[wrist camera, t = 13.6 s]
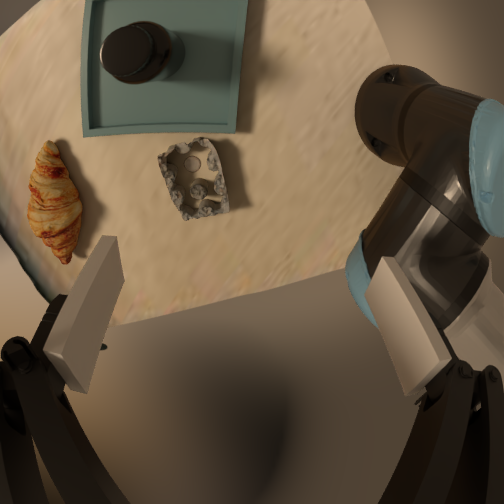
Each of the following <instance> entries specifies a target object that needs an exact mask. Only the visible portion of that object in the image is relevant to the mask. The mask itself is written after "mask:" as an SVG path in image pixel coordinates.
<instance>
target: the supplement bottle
mask: <svg viewBox="0 0 504 504" xmlns="http://www.w3.org/2000/svg"><path fill="white" fill-rule="evenodd" d="M99 55H100V61H101V64H102V67H103V68H104V69H105V71H108V73H109V74H111V75H112V76H113V77H114V78H115V79H117V80H118V81H120V82H122V83H125V84H131V85H137V84H144V83H149V82H155V81H160V80H164V79H166V78H169V77H170V76H172V75H173V74H175V73H176V72H177V71H178V70H179V69H180V67H181V66H182V64H183V62H184V59H185V46H184V43H183V41H182V39H181V38H180V37H179V36H178V35H177V34H175V33H174V32H172V31H170V30H169V29H167V28H165V27H163V26H162V25H160V24H158V23H155V22H151V21H137V22H133V23H130V24H128V25H126V26H124V27H120V28H119V29H116V30H115V31H113V32H111V34H109V35H108V36H107V38H106V39H105V40H104V42H103V43H102V47H101V48H100V54H99Z"/></svg>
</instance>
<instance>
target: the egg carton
mask: <svg viewBox="0 0 504 504" xmlns="http://www.w3.org/2000/svg"><path fill="white" fill-rule="evenodd" d="M196 141H198V143H200V144H201V146H203V147H207V148H209V149H211V151H210V152H209V154H208V158H207V165H208V167H209V170H212V171H217V170H218V171H219V173H218V174H217V175H216V177H215V183H214V190H215V192H216V193H217V194H221V195H222V196H223V197H222V200H221V203H217V204H216V203H214V202H213V201H211V200H209V199H204V198H205V197H206V196H207V192H208V183H207V181H206V180H204V179H202V178H197V179H195V180H194V181H193V183H192V186H191V189H190V193H191V196H192V197H193V198H195V199H204V200H202V201H201V202H200V204H199V209H196V210H193V209H192V208H191V207H190V206H188V205H183V204H182V203H183V201H184V197H185V189H184V188H183V187H182V186H181V185H176V183H175V182H174V181H175V178H176V176H177V172H178V170H177V168H176V166H175V165H173V164H170V163H167V161H166V160H167V155H168V154H169V153H171V152H172V151H173V150H174V148H175V150H176V151H177V152H178V153H184V154H185V153H187V152H189V151H190V150H191V148H192V146H193V142H196ZM158 162H159V167H160V169H161V173H162V175H163V177H164V178H165V181H166V185H167V188H168V190H169V193H170V195H171V199H172V201H173V202H174V204H175V206H176V207H177V208H178V210H179V211H180V213H181V214H182V218H183V219H184V220H185V221H187V220H189V219H191V218H196V219H198V218H200V217H207V216H213V215H216V214H218V213H227V212H229V200H228V194H227V189H226V186H225V181H224V177H223V172H222V168H221V163H220V160H219V157H218V154H217V151H216V149H215V148H214V146H213V143H212V142H210V141H209V140H208V139H202V138H201V137H198V138H194V139H193V141H192V142H191V143H189V144H188V145H187V144H186V143H185V142H184V143H180V144H175V145H172V146H170V147H169V149H168V150H167V152H165V153H163V154H160V155H158ZM200 164H201V163H200V160H199V159H198V158H197V157H195V156H190V157H188V158H187V159H186V160H185V162H184V166H185V168H186V169H187V170H188V171H190V172H195V171H197V170H198V169H199V168H200Z"/></svg>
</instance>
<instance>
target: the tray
mask: <svg viewBox="0 0 504 504" xmlns="http://www.w3.org/2000/svg"><path fill="white" fill-rule="evenodd" d="M247 6H248V0H86V1H85V9H84V18H83V28H82V43H81V112H82V128H83V138H85V137H94V136H105V135H118V134H134V133H159V132H209V133H235V130H236V117H237V106H238V94H239V83H240V72H241V62H242V52H243V42H244V33H245V23H246V14H247ZM137 21H151V22H155V23H158V24H160V25H162V26H163V27H165V28H167V29H169V30H170V31H172V32H174V33H175V34H177V35H178V36H179V37H180V38H181V39H182V41H183V43H184V46H185V59H184V62H183V64H182V66H181V67H180V69H179V70H178V71H177V72H176V73H175V74H173V75H172V76H170V77H169V78H166V79H164V80H160V81H155V82H149V83H144V84H137V85H131V84H125V83H122V82H120V81H118V80H117V79H115V78H114V77H113V76H112V75H111V74H109V73H108V71H105V69H104V68H103V67H102V64H101V61H100V55H99V54H100V48H101V47H102V43H103V42H104V40H105V39H106V38H107V36H108V35H109V34H111V32H113V31H115V30H116V29H119V28H120V27H124V26H126V25H128V24H130V23H133V22H137Z"/></svg>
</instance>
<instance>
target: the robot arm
mask: <svg viewBox="0 0 504 504" xmlns="http://www.w3.org/2000/svg"><path fill="white" fill-rule="evenodd" d="M355 121H356V126H357V130H358V132H359V135H360V137H361V139H362V141H363V142H364V144H365V145H366V146H367V148H368V149H369V150H370V151H371V152H372V153H374V154H375V155H376V156H378V157H379V158H380V159H382V160H383V161H385V162H387V163H390V164H392V165H395V166H401V167H405V168H404V170H403V172H402V173H401V175H400V176H399V178H398V179H397V181H396V183H395V184H394V186H393V188H392V189H391V191H390V193H389V194H388V196H387V197H386V199H385V201H384V202H383V204H382V205H381V207H380V209H379V210H378V212H377V213H376V215H375V216H374V218H373V219H372V221H371V222H370V224H369V225H368V227H367V228H366V229H364V230H362V232H361V233H360V236H359V240H358V241H357V243H356V245H355V246H354V248H353V250H352V251H351V253H350V254H349V256H348V258H347V261H346V267H345V273H346V278H347V281H348V287H349V289H350V292H351V294H352V296H353V298H354V300H355V302H356V303H357V305H358V306H359V308H360V309H361V311H362V312H363V313H364V315H365V316H366V317H367V318H368V319H369V320H370V321H371V322H372V323H373V324H374V325H375V326H376V327H377V328H378V329H379V330H380V332H381V335H382V337H383V340H384V342H385V344H386V347H387V349H388V352H389V354H390V357H391V360H392V362H393V365H394V367H395V369H396V372H397V375H398V378H399V381H400V383H401V386H402V389H403V391H404V394H405V396H409V395H413V394H417V393H419V392H420V391H421V389H423V388H424V387H426V390H427V392H426V393H424V394H423V395H422V396H421V397H420V398H419V399H418V400H417V401H416V402H415V405H417V404H418V403H419V402H420V401H421V400H422V401H421V404H420V405H419V410H418V413H417V417H416V419H415V422H414V425H413V428H412V431H411V433H410V436H409V438H408V441H407V443H406V446H405V448H404V451H403V453H402V455H401V458H400V460H399V462H398V465H397V467H396V469H395V471H394V473H393V475H392V477H391V479H390V481H389V483H388V485H387V487H386V489H385V491H384V493H383V495H382V497H381V499H380V501H379V502H378V504H504V294H503V293H502V292H501V291H500V290H499V289H498V287H497V286H496V285H495V284H494V283H493V281H492V269H491V268H492V267H491V260H490V259H489V258H488V257H487V256H486V255H485V254H484V253H483V252H482V251H481V248H482V246H483V245H484V243H485V242H486V240H487V239H488V238H489V236H490V235H492V236H497V237H501V238H502V237H504V106H503V105H501V104H500V103H499V102H498V101H496V100H493V99H486V98H483V97H481V96H477V95H474V94H471V93H468V92H465V91H461V90H457V89H454V88H450V87H446V86H442V85H440V84H439V83H438V82H437V81H435V80H434V79H433V78H432V77H430V76H429V75H427V74H426V73H424V72H423V71H421V70H419V69H417V68H414V67H411V66H406V65H387V66H384V67H381V68H379V69H377V70H376V71H374V72H373V73H371V74H370V75H369V76H368V77H367V78H366V80H365V81H364V82H363V84H362V86H361V88H360V90H359V92H358V95H357V98H356V103H355ZM123 283H124V276H123V270H122V265H121V259H120V253H119V247H118V241H117V236H106V235H102V237H101V238H100V240H99V242H98V243H97V245H96V247H95V248H94V250H93V252H92V253H91V255H90V257H89V258H88V260H87V262H86V264H85V265H84V267H83V269H82V271H81V272H80V274H79V276H78V278H77V280H76V281H75V283H74V285H73V287H72V289H71V291H70V293H69V295H62V294H59V295H58V296H57V297H56V298H55V299H53V300H52V301H51V303H50V305H49V307H48V308H47V310H46V314H45V315H44V316H43V318H42V321H41V322H40V324H39V327H38V328H37V330H36V333H35V335H34V337H33V339H32V341H31V343H30V344H29V342H28V340H26V339H25V338H24V337H19V336H16V337H13V338H11V339H9V340H8V341H7V342H6V343H5V344H4V345H3V347H2V350H1V359H2V360H3V361H0V504H49V502H48V499H47V496H46V493H45V490H44V486H43V483H42V479H41V476H40V472H39V468H38V464H37V460H36V455H35V450H34V446H33V440H34V442H35V444H36V447H37V449H38V451H39V454H40V456H41V458H42V460H43V462H44V464H45V466H46V469H47V471H48V472H49V475H50V477H51V479H52V480H53V482H54V484H55V486H56V488H57V490H58V491H59V493H60V495H61V497H62V498H63V500H64V502H65V503H66V504H130V502H129V501H128V500H127V498H126V497H125V496H124V495H123V493H122V492H121V490H120V489H119V488H118V486H117V485H116V483H115V482H114V480H113V479H112V478H111V476H110V475H109V473H108V472H107V470H106V469H105V467H104V465H103V464H102V462H101V461H100V459H99V457H98V456H97V454H96V452H95V451H94V449H93V447H92V445H91V444H90V442H89V440H88V438H87V437H86V435H85V433H84V431H83V429H82V427H81V425H80V423H79V421H78V419H77V417H76V415H75V413H74V411H73V409H72V407H71V405H70V403H69V401H68V398H67V396H66V394H65V392H64V391H63V390H64V386H65V383H66V384H67V385H68V387H69V388H70V389H71V390H73V391H77V392H81V393H85V394H87V393H88V389H89V385H90V381H91V378H92V374H93V371H94V368H95V364H96V361H97V358H98V354H99V351H100V348H101V345H102V341H103V339H104V335H105V332H106V330H107V327H108V324H109V321H110V318H111V315H112V312H113V310H114V307H115V304H116V302H117V299H118V296H119V294H120V291H121V288H122V286H123ZM456 355H457V356H458V357H459V358H460V359H461V360H459V359H458V358H457V356H456ZM480 403H481V408H480V409H479V410H478V411H477V410H476V406H477V405H478V404H480ZM32 437H33V440H32Z"/></svg>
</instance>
